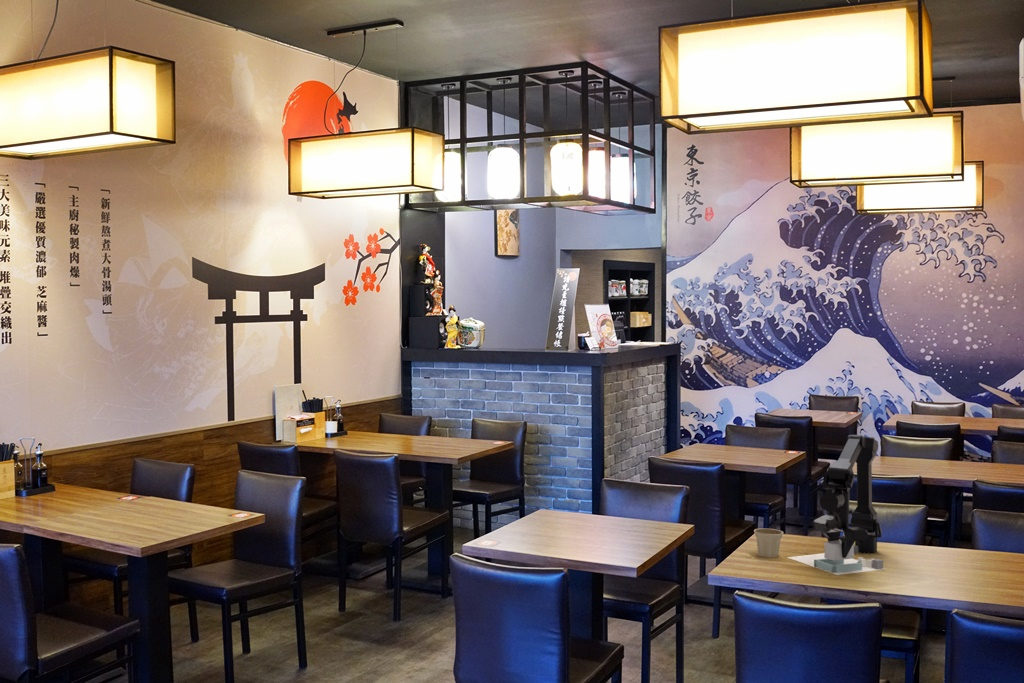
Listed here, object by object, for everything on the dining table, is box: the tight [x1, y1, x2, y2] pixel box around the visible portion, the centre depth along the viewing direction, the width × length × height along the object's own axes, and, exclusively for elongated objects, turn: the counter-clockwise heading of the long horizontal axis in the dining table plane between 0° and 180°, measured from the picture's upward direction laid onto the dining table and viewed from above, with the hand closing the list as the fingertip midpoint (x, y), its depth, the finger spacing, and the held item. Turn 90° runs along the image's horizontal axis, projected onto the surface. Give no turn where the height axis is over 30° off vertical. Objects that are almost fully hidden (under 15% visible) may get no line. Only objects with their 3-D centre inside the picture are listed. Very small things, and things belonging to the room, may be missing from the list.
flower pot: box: [753, 528, 784, 558], centre depth 308 cm, size 9×9×9 cm
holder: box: [814, 558, 862, 574], centre depth 291 cm, size 9×11×2 cm
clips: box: [857, 557, 874, 568], centre depth 294 cm, size 5×5×2 cm
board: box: [786, 552, 885, 576], centre depth 297 cm, size 19×24×1 cm
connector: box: [824, 539, 859, 561], centre depth 292 cm, size 4×11×5 cm, turn 112°
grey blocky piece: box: [857, 558, 884, 570], centre depth 292 cm, size 5×6×3 cm
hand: (839, 556), depth 291 cm, fingers closed on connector, 4 cm apart
